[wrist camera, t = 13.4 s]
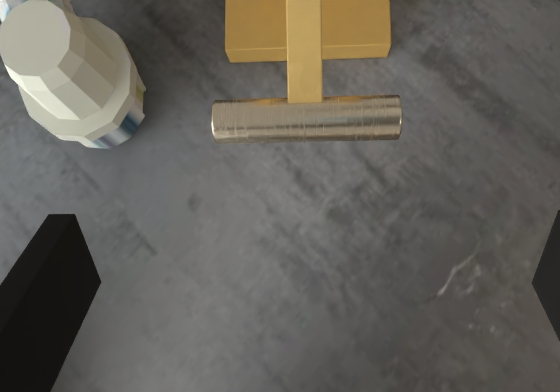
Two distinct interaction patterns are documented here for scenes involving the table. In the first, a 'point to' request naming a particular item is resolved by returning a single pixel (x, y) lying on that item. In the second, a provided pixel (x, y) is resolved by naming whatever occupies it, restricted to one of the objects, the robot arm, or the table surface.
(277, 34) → the yellow lever stand
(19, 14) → the white handheld electric wand
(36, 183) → the table surface
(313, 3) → the tap lever
